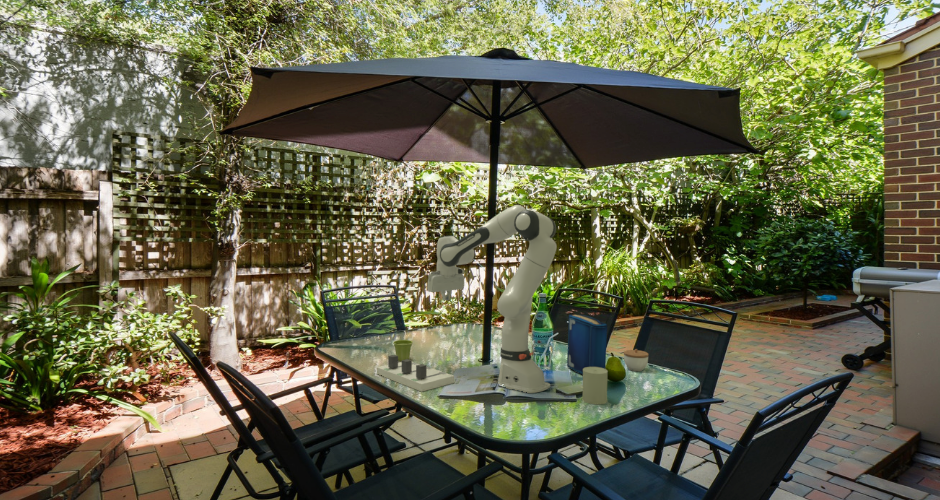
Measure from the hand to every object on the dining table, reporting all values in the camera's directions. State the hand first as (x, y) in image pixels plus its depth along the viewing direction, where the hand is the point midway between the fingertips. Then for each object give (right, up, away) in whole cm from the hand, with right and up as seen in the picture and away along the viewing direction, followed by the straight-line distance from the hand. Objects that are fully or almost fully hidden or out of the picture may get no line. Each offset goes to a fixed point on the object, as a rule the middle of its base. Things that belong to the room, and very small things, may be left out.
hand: (446, 300), depth 238 cm
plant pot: (-21, -30, +10) cm, 38 cm away
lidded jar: (+87, -32, -4) cm, 93 cm away
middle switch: (-15, -28, -23) cm, 40 cm away
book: (+63, -32, -12) cm, 71 cm away
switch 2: (-9, -28, -30) cm, 42 cm away
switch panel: (-13, -31, -20) cm, 39 cm away
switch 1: (-22, -28, -16) cm, 39 cm away
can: (+58, -33, -46) cm, 81 cm away
